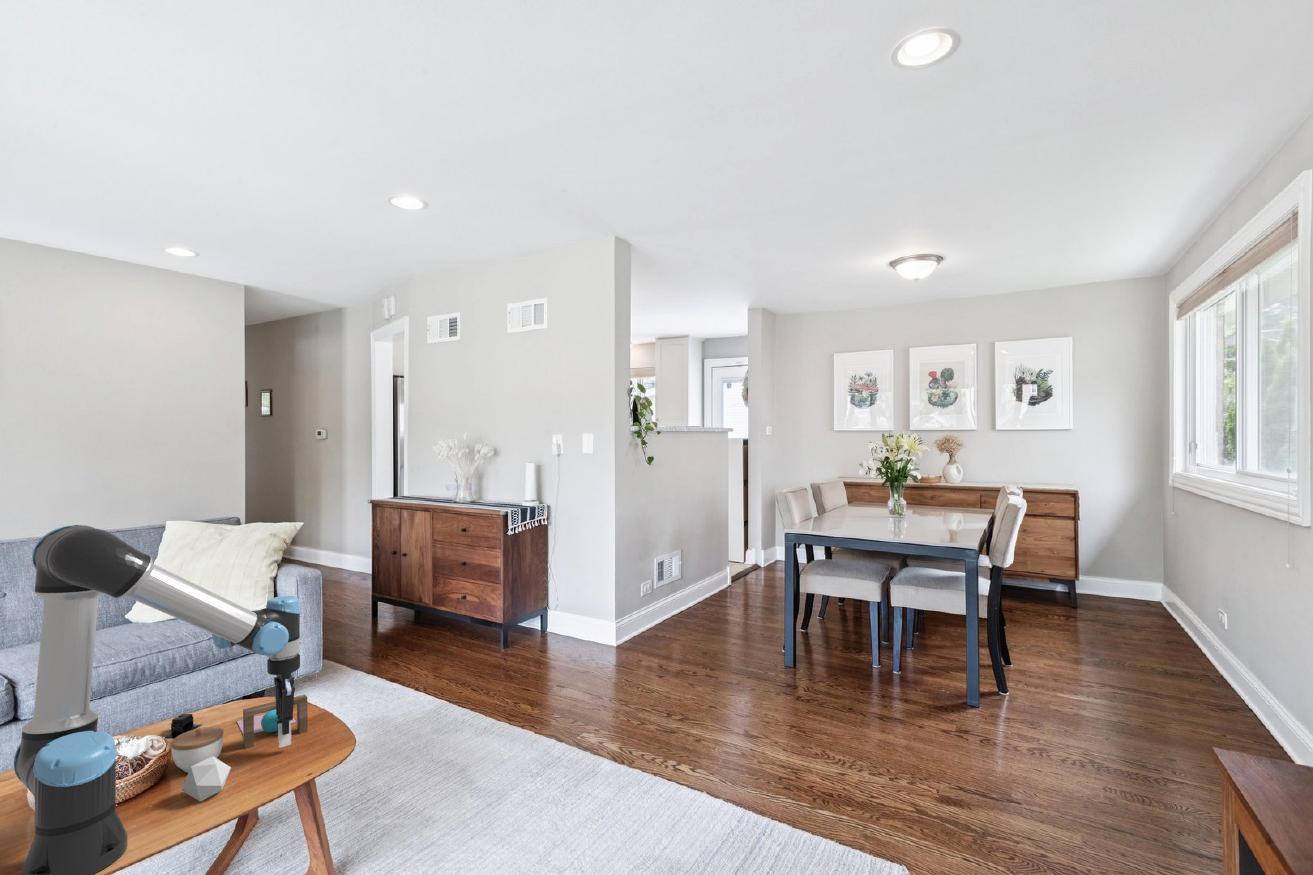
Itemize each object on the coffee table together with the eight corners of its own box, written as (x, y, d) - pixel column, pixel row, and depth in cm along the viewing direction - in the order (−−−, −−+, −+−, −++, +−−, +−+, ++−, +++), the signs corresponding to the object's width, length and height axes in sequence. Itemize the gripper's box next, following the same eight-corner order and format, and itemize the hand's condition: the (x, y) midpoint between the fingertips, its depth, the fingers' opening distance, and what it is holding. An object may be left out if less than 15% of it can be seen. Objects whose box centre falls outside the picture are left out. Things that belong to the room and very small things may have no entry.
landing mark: (244, 736, 176) (244, 735, 176) (236, 721, 186) (236, 720, 186) (296, 722, 185) (296, 721, 185) (286, 708, 195) (286, 708, 195)
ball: (263, 734, 174) (263, 711, 176) (258, 734, 178) (258, 712, 180) (288, 729, 178) (288, 706, 180) (282, 729, 182) (282, 707, 184)
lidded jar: (172, 782, 152) (172, 743, 153) (170, 765, 161) (170, 728, 161) (225, 767, 159) (225, 730, 159) (221, 751, 168) (221, 716, 168)
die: (230, 799, 146) (241, 754, 151) (193, 796, 139) (206, 749, 145) (207, 806, 148) (218, 761, 154) (169, 804, 142) (182, 757, 147)
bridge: (307, 731, 179) (307, 697, 179) (245, 748, 169) (244, 712, 169) (305, 727, 181) (304, 694, 181) (243, 744, 171) (243, 709, 171)
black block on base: (187, 723, 187) (187, 707, 187) (212, 723, 187) (212, 706, 187) (150, 744, 174) (150, 726, 174) (178, 744, 174) (178, 726, 174)
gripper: (305, 658, 164) (306, 748, 164) (294, 646, 174) (295, 732, 174) (272, 665, 160) (273, 758, 159) (262, 653, 169) (263, 741, 169)
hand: (284, 744), depth 167 cm, fingers closed
